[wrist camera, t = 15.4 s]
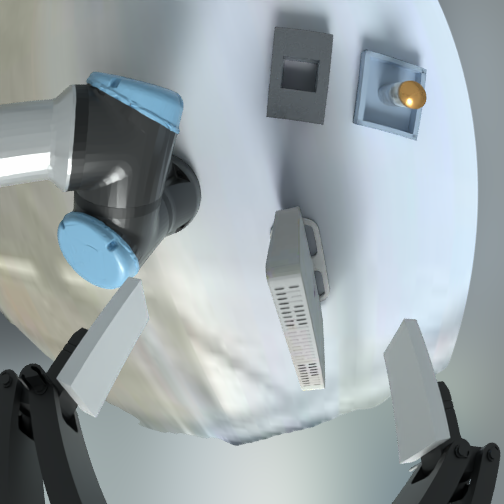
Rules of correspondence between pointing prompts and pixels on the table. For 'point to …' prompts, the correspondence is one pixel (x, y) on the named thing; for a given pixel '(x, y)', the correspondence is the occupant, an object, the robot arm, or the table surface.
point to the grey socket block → (304, 50)
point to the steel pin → (403, 94)
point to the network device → (298, 293)
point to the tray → (369, 105)
